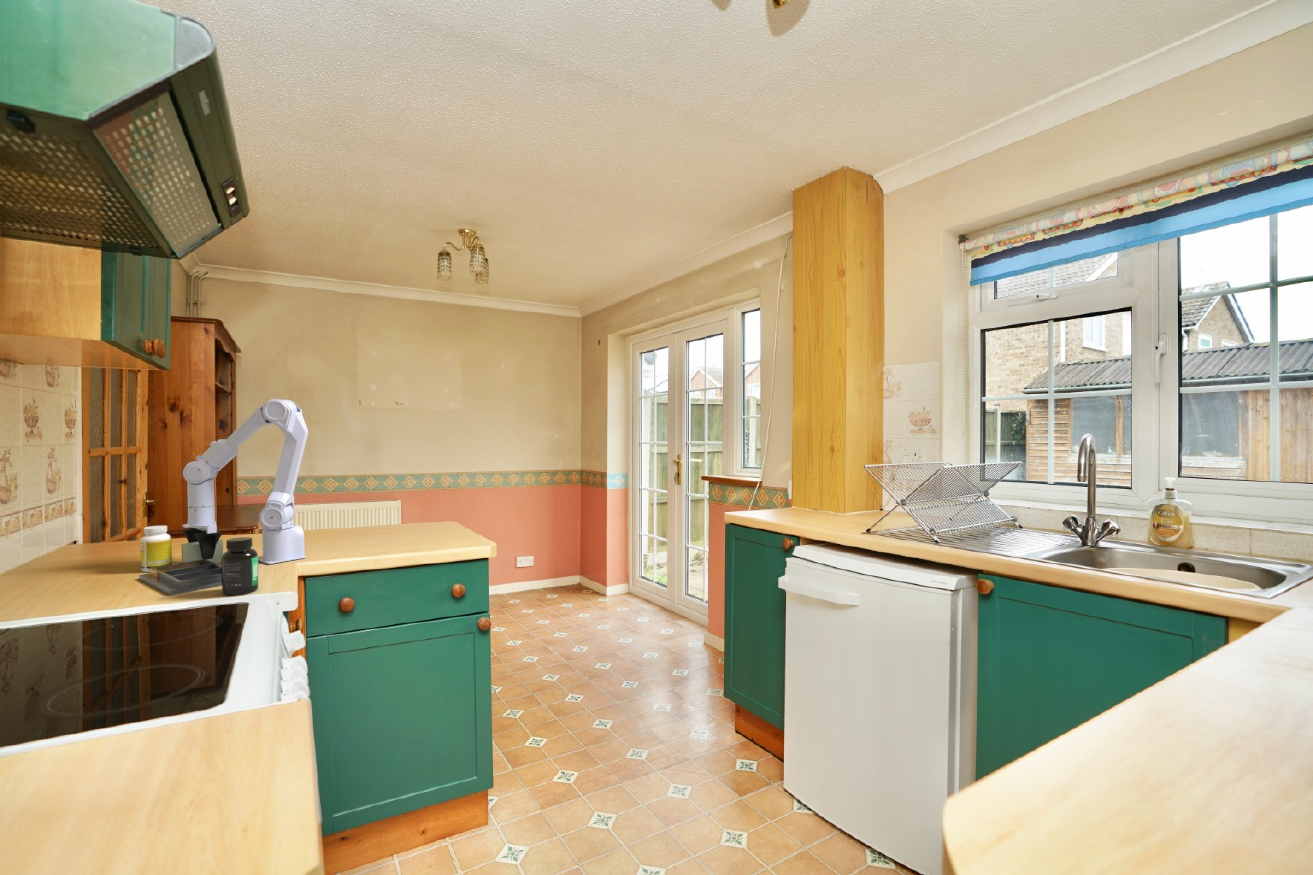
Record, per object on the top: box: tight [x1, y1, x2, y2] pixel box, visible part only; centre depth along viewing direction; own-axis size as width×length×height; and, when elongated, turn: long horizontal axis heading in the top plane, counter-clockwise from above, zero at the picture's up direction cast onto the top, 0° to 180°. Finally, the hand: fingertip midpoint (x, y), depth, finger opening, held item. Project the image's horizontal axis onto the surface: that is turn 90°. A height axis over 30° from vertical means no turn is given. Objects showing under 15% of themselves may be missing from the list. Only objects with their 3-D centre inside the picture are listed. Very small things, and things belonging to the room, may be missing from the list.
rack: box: [138, 559, 222, 596], centre depth 147 cm, size 15×22×2 cm
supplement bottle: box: [220, 536, 260, 597], centre depth 137 cm, size 7×7×12 cm
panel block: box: [180, 539, 224, 564], centre depth 162 cm, size 8×4×6 cm, turn 144°
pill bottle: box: [139, 525, 173, 573], centre depth 156 cm, size 6×6×11 cm
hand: (202, 556), depth 162 cm, fingers open, 7 cm apart
